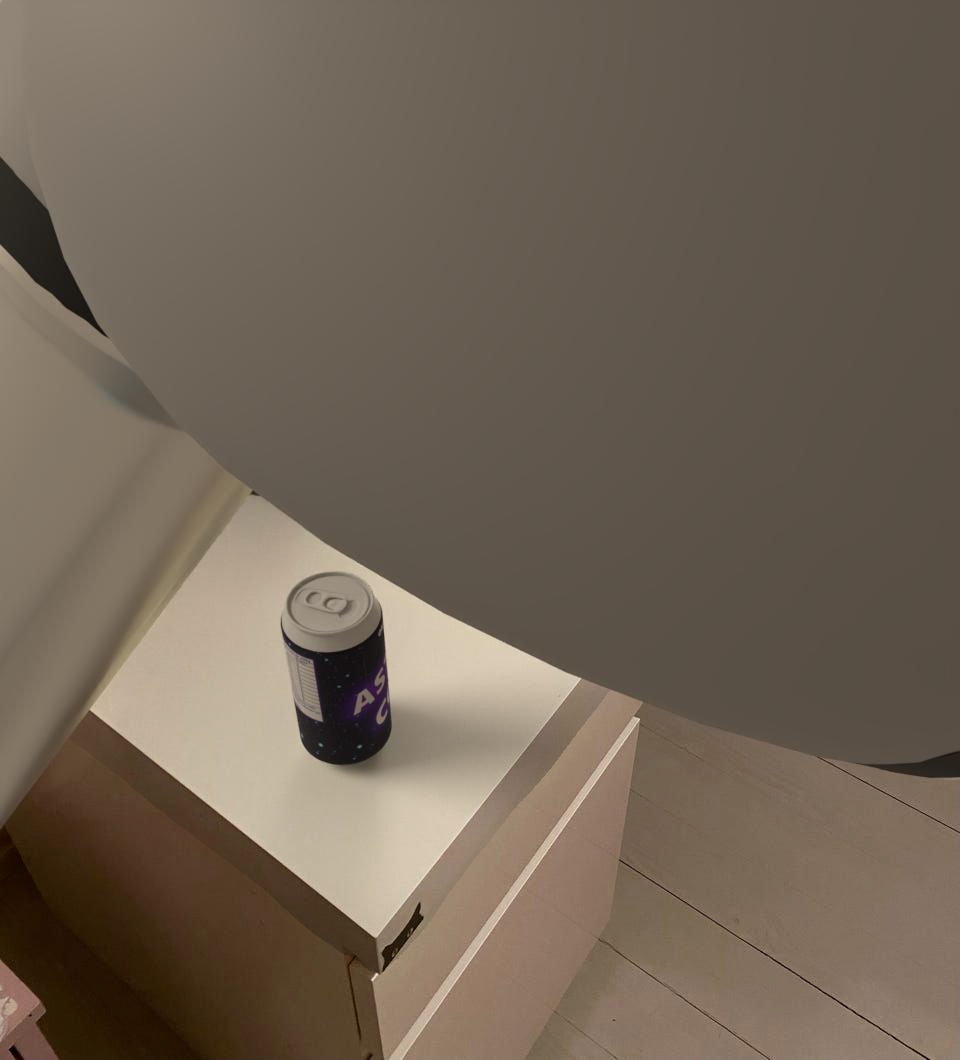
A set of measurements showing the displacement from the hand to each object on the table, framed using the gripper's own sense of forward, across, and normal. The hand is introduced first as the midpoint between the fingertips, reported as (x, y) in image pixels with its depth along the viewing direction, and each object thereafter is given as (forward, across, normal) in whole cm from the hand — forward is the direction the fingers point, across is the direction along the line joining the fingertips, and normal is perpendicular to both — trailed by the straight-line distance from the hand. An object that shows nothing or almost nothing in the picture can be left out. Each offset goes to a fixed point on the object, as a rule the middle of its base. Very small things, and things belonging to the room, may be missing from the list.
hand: (459, 542), depth 52 cm
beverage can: (+7, 0, -18) cm, 20 cm away
